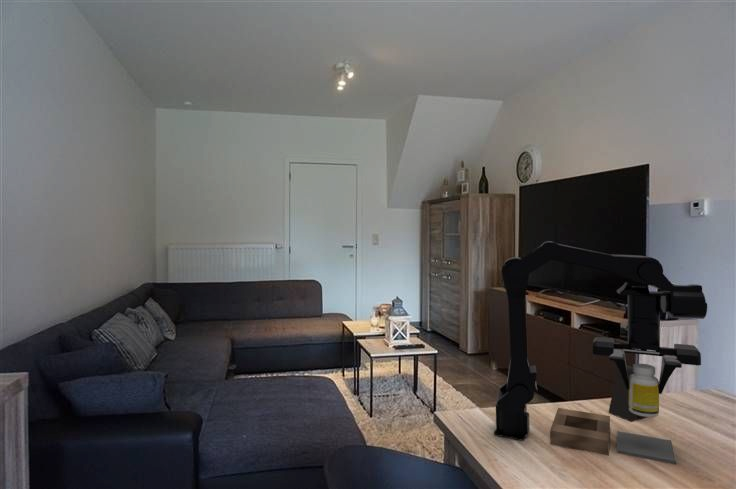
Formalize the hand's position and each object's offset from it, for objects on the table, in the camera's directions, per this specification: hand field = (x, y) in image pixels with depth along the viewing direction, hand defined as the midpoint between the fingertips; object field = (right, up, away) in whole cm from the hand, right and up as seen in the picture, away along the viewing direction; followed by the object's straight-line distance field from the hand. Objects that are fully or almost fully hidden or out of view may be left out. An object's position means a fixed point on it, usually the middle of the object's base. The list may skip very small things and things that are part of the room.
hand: (643, 391), depth 94 cm
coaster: (0, -12, 0) cm, 12 cm away
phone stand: (+8, -12, +18) cm, 23 cm away
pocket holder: (-10, -12, +6) cm, 17 cm away
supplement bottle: (0, -5, 0) cm, 5 cm away
